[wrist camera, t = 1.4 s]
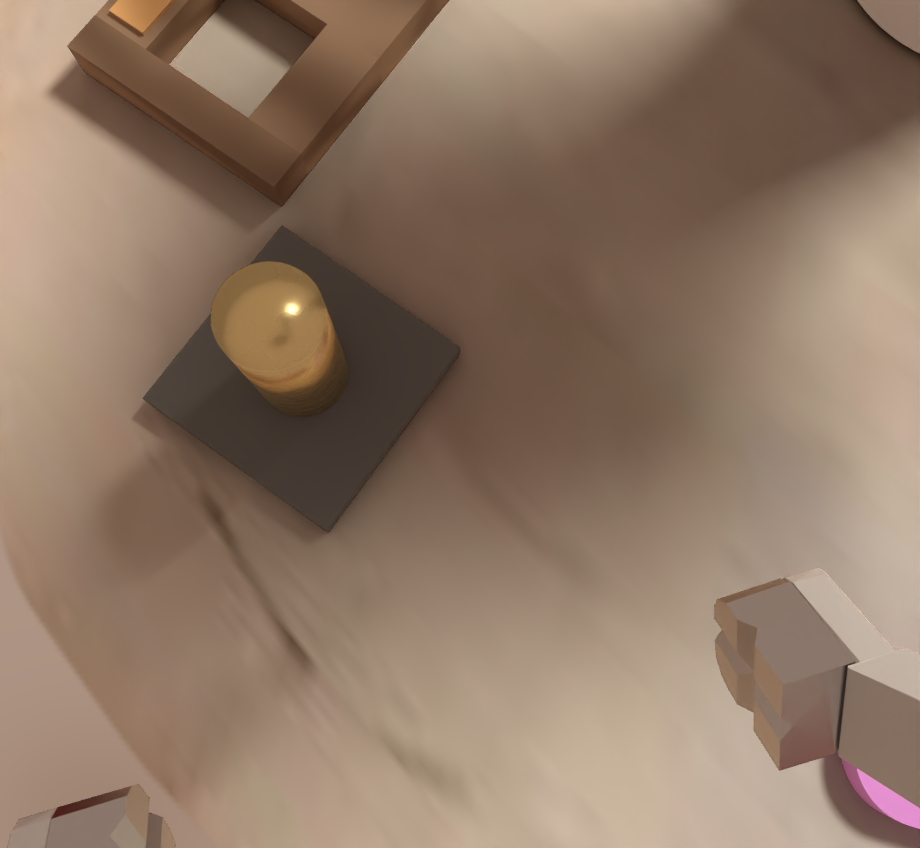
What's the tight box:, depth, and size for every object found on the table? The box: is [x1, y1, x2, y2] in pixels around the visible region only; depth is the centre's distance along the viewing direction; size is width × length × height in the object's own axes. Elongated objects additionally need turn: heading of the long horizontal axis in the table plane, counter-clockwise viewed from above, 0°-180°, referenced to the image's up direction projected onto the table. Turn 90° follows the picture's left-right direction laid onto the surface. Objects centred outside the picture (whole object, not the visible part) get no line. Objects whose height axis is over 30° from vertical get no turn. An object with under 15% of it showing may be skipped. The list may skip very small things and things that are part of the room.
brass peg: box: [211, 261, 348, 417], centre depth 34 cm, size 4×4×8 cm
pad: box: [142, 226, 460, 532], centre depth 38 cm, size 10×10×1 cm
